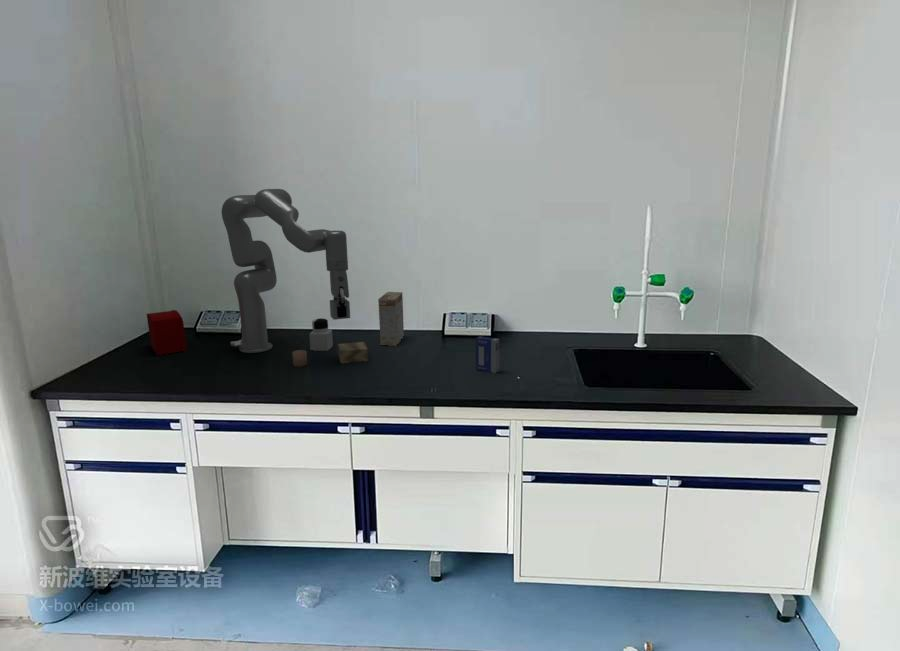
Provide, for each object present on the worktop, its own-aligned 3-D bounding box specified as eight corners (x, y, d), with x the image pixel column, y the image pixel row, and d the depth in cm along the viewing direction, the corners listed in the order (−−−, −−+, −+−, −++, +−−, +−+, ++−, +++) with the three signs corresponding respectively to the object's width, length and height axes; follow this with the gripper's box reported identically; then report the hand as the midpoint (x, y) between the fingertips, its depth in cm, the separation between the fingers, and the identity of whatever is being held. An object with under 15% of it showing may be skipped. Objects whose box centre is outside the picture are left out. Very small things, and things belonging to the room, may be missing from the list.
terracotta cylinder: (294, 368, 206) (293, 354, 204) (292, 364, 210) (291, 351, 209) (308, 366, 208) (307, 352, 206) (306, 362, 212) (305, 349, 211)
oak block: (340, 364, 210) (340, 351, 209) (338, 356, 219) (337, 344, 218) (368, 361, 213) (367, 348, 211) (364, 354, 222) (364, 341, 221)
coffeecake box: (388, 336, 247) (386, 291, 242) (404, 336, 246) (403, 291, 241) (379, 345, 232) (377, 298, 227) (396, 346, 231) (395, 299, 226)
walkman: (475, 370, 201) (475, 337, 198) (479, 367, 204) (479, 335, 201) (496, 373, 197) (496, 339, 194) (499, 371, 200) (499, 337, 197)
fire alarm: (187, 351, 227) (182, 315, 223) (157, 356, 221) (152, 318, 217) (179, 342, 240) (175, 307, 236) (151, 347, 234) (146, 311, 230)
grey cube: (333, 319, 205) (332, 303, 203) (330, 316, 210) (329, 300, 209) (350, 318, 207) (349, 301, 205) (346, 314, 212) (345, 298, 211)
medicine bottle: (333, 346, 232) (331, 317, 229) (327, 351, 225) (325, 321, 223) (316, 345, 233) (314, 317, 230) (310, 350, 226) (308, 321, 223)
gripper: (353, 268, 197) (355, 319, 202) (342, 262, 213) (345, 309, 217) (331, 269, 195) (334, 321, 199) (322, 263, 210) (325, 311, 215)
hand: (340, 314), depth 208 cm, fingers closed on grey cube, 6 cm apart
